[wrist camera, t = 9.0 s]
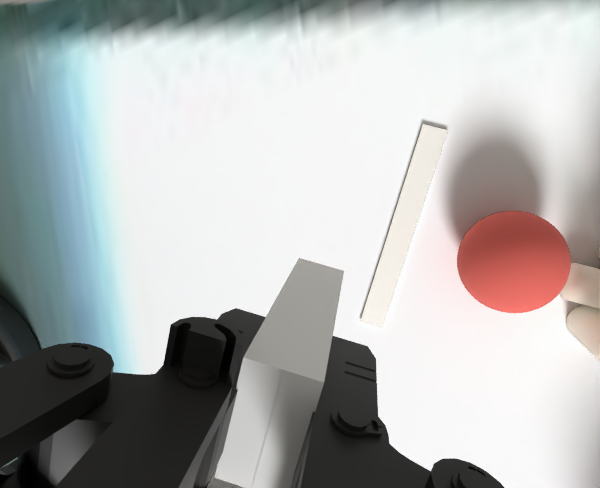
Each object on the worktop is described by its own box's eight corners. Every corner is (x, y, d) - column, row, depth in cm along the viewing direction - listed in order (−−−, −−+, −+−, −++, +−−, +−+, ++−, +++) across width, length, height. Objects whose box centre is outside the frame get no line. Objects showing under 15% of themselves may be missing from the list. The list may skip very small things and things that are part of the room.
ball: (558, 321, 27) (463, 288, 30) (591, 227, 26) (489, 204, 29) (539, 338, 22) (430, 296, 26) (579, 223, 21) (459, 196, 25)
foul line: (360, 319, 31) (360, 321, 31) (422, 124, 27) (423, 124, 27) (382, 326, 31) (382, 327, 31) (447, 130, 27) (448, 130, 27)
